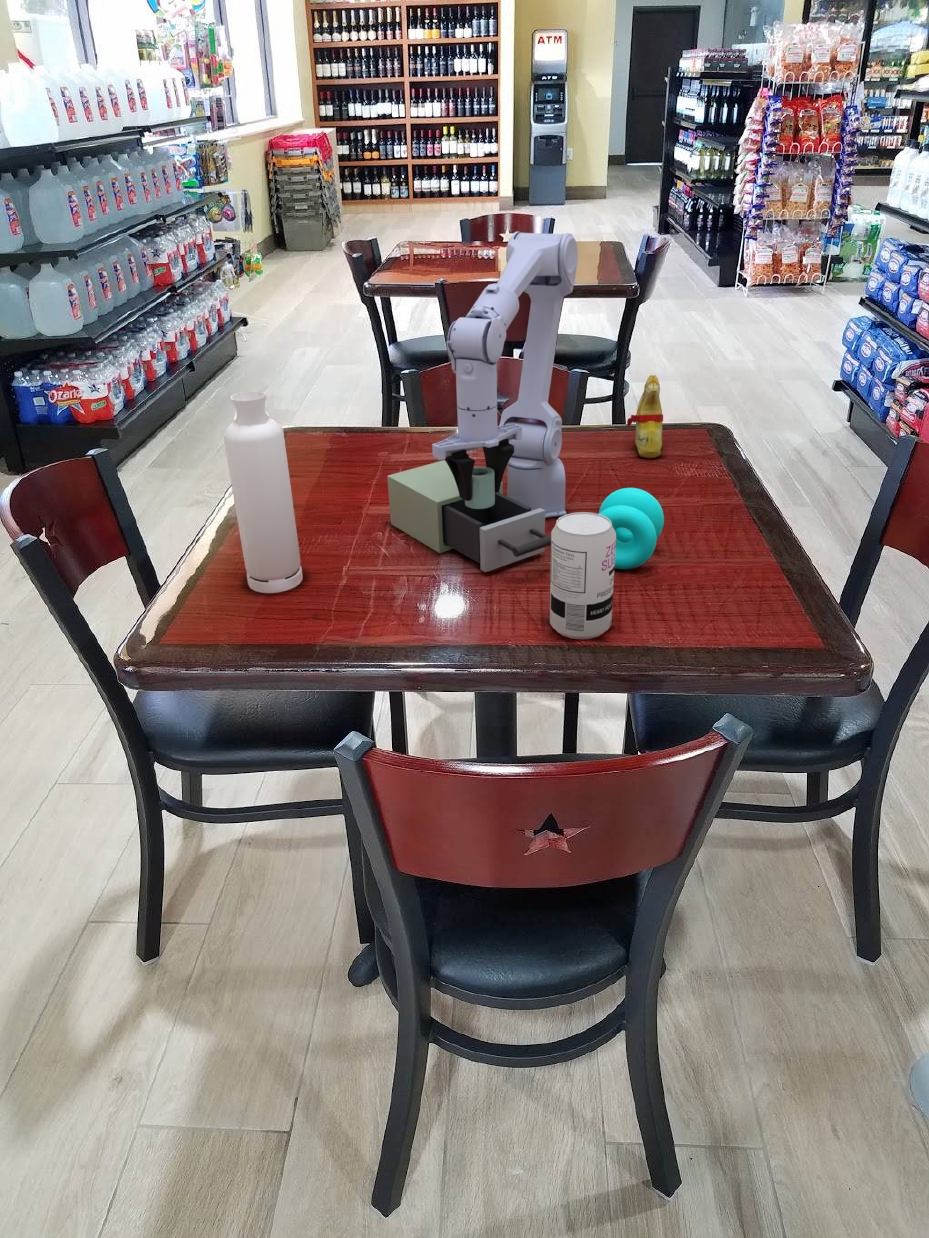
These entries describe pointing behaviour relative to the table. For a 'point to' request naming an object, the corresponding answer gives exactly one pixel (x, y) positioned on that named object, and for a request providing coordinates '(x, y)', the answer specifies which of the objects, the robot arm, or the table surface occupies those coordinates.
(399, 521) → the green drawer cabinet
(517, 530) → the drawer
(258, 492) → the bottle
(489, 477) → the jar
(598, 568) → the supplement can
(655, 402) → the chocolate bunny
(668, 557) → the table surface
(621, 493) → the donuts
